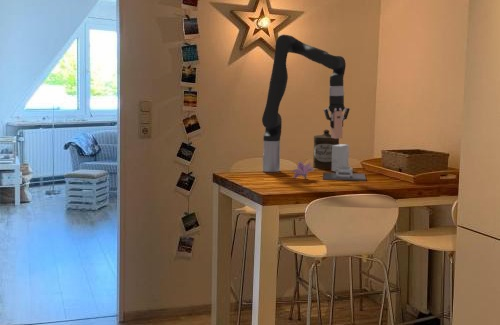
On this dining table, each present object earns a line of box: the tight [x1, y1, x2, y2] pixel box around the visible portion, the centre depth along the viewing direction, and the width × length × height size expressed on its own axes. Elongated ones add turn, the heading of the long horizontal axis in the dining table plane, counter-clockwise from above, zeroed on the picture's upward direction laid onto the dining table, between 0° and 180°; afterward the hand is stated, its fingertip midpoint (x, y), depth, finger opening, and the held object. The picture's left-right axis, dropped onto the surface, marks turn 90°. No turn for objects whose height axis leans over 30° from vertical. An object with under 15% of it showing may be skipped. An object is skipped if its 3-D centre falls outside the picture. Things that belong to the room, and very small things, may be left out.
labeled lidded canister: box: [312, 129, 340, 170], centre depth 359 cm, size 15×15×22 cm
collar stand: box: [322, 166, 367, 182], centre depth 325 cm, size 22×16×5 cm
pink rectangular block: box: [330, 111, 343, 139], centre depth 322 cm, size 6×4×14 cm, turn 12°
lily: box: [291, 161, 316, 180], centre depth 319 cm, size 12×12×10 cm
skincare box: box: [331, 143, 350, 173], centre depth 345 cm, size 8×6×15 cm
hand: (336, 127), depth 322 cm, fingers closed on pink rectangular block, 4 cm apart
